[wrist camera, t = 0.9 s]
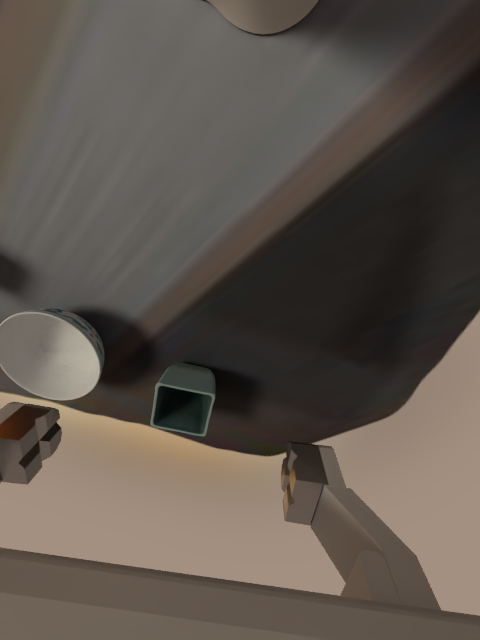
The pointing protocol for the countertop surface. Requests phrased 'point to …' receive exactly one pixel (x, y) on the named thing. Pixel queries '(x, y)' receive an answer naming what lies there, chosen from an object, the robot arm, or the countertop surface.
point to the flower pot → (184, 399)
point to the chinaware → (51, 353)
